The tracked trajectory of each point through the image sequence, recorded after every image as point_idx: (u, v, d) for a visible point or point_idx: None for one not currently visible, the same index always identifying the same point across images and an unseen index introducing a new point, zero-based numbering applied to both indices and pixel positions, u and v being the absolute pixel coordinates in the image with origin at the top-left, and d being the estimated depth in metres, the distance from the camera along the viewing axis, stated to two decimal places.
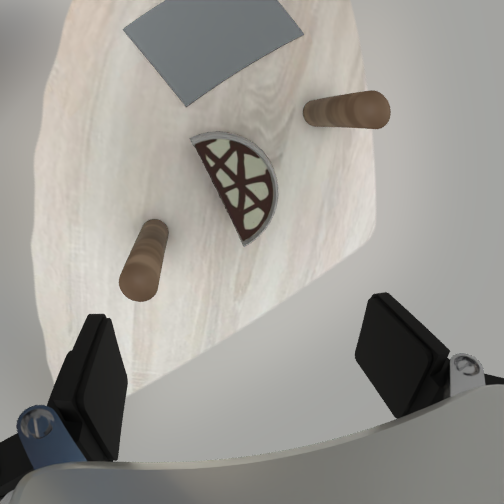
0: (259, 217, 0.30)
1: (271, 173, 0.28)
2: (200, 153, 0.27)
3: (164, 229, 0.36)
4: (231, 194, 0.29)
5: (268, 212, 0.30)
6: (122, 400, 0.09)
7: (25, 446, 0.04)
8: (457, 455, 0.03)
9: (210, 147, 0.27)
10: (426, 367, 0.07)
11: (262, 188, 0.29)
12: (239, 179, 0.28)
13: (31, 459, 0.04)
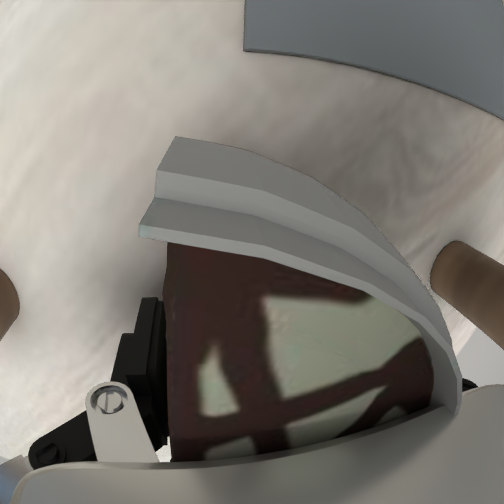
0: None
1: None
2: (179, 320, 0.03)
3: (1, 317, 0.10)
4: None
5: None
6: None
7: (90, 418, 0.05)
8: (457, 454, 0.03)
9: (283, 321, 0.03)
10: None
11: None
12: None
13: (92, 432, 0.05)
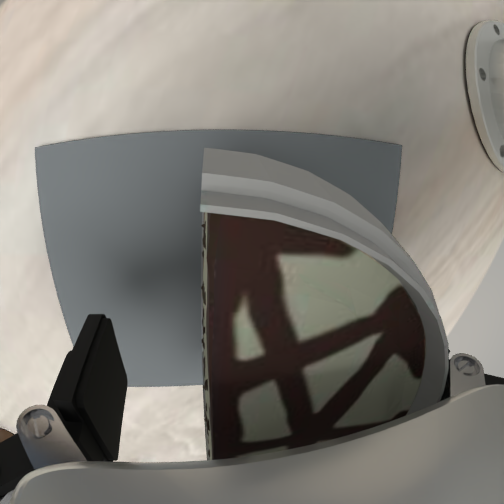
0: None
1: None
2: (219, 277, 0.04)
3: None
4: None
5: None
6: (122, 400, 0.09)
7: (25, 446, 0.04)
8: (457, 454, 0.03)
9: (293, 273, 0.04)
10: None
11: None
12: (313, 425, 0.06)
13: (31, 459, 0.04)
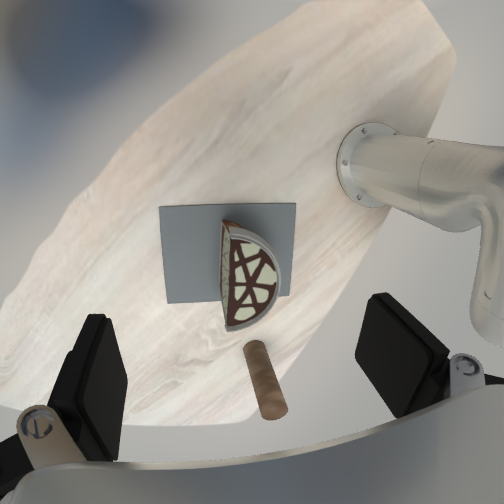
0: (249, 314, 0.35)
1: (278, 287, 0.33)
2: (232, 246, 0.31)
3: None
4: (238, 289, 0.33)
5: (259, 313, 0.35)
6: (122, 400, 0.09)
7: (25, 446, 0.04)
8: (457, 454, 0.03)
9: (242, 246, 0.31)
10: (426, 367, 0.07)
11: (264, 295, 0.34)
12: (250, 280, 0.33)
13: (31, 459, 0.04)
